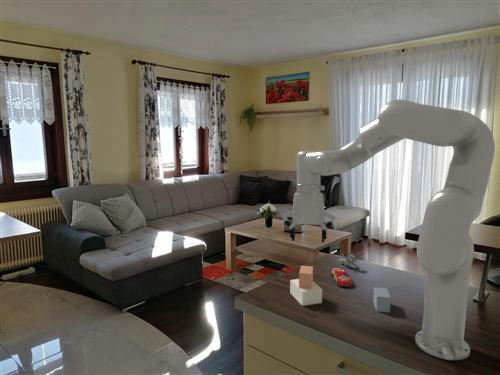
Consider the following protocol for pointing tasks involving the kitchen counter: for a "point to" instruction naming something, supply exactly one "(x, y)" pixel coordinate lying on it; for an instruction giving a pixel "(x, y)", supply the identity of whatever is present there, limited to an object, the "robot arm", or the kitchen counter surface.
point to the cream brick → (306, 293)
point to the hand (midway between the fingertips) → (308, 240)
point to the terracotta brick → (306, 277)
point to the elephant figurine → (348, 260)
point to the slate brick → (381, 300)
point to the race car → (341, 277)
